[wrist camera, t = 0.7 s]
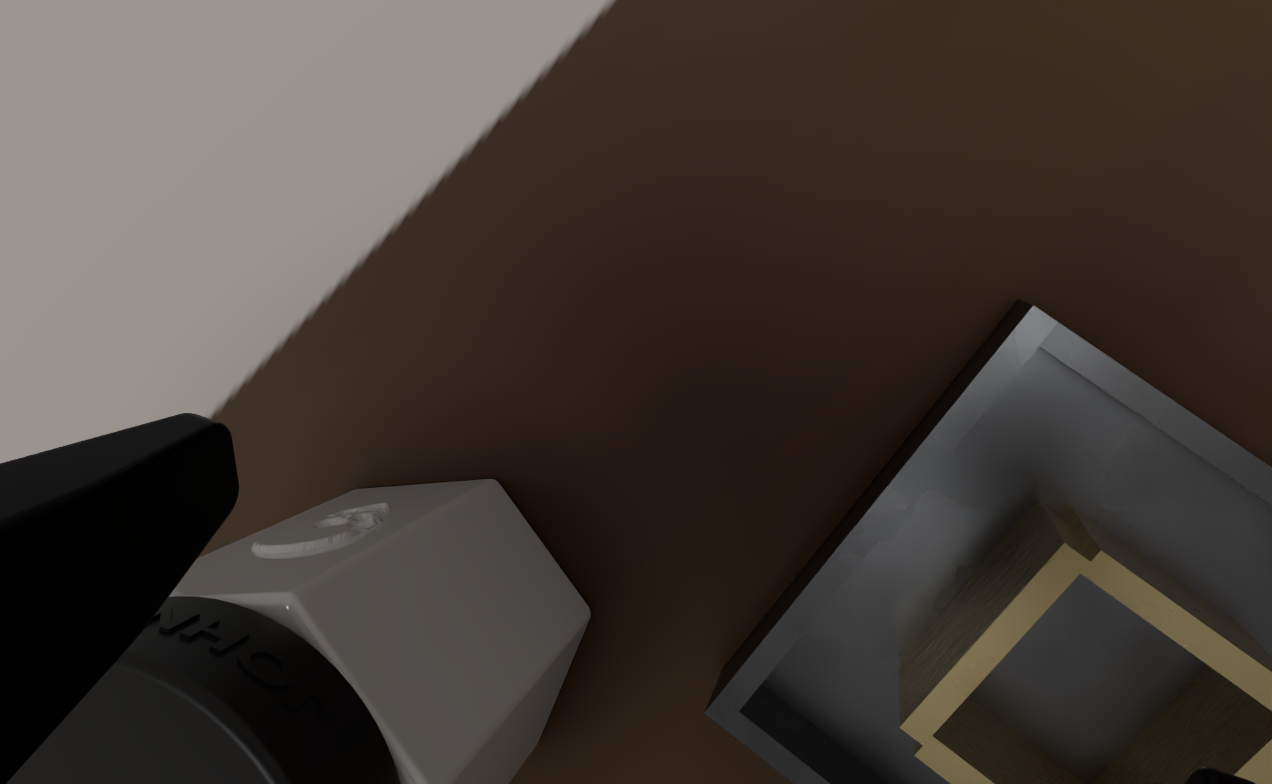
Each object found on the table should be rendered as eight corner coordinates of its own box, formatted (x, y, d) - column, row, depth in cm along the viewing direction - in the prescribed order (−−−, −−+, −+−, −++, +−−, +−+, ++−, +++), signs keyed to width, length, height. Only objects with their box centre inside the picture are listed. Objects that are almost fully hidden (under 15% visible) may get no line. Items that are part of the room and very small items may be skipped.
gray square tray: (1111, 973, 23) (1153, 1114, 19) (722, 669, 25) (690, 744, 21) (1493, 623, 20) (1634, 710, 16) (1018, 299, 22) (1044, 309, 18)
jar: (573, 463, 25) (304, 638, 14) (613, 747, 26) (393, 1136, 15) (290, 485, 28) (-136, 650, 16) (336, 744, 29) (-38, 1074, 17)
